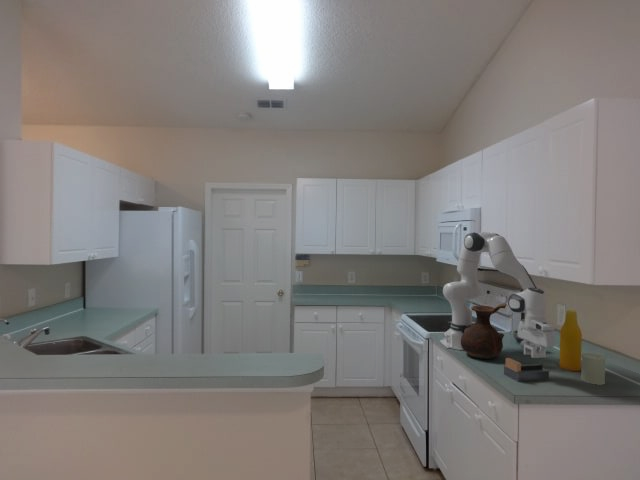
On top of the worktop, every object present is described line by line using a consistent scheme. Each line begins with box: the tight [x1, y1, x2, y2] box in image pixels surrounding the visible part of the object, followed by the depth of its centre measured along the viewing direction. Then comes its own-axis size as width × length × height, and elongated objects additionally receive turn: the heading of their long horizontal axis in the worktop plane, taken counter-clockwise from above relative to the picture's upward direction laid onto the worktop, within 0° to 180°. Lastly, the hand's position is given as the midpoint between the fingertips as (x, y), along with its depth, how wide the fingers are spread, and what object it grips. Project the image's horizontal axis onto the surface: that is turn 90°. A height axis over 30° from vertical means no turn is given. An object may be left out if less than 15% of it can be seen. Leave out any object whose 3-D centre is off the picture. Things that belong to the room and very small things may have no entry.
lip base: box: [503, 357, 550, 383], centre depth 187 cm, size 16×10×8 cm, turn 102°
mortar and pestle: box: [512, 330, 524, 345], centre depth 246 cm, size 11×9×12 cm
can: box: [580, 352, 607, 386], centre depth 183 cm, size 9×9×12 cm
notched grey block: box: [523, 343, 547, 359], centre depth 188 cm, size 7×6×5 cm
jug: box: [461, 303, 508, 360], centre depth 219 cm, size 22×22×30 cm
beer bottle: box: [558, 309, 583, 372], centre depth 200 cm, size 9×9×29 cm
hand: (534, 352), depth 188 cm, fingers closed on notched grey block, 6 cm apart
